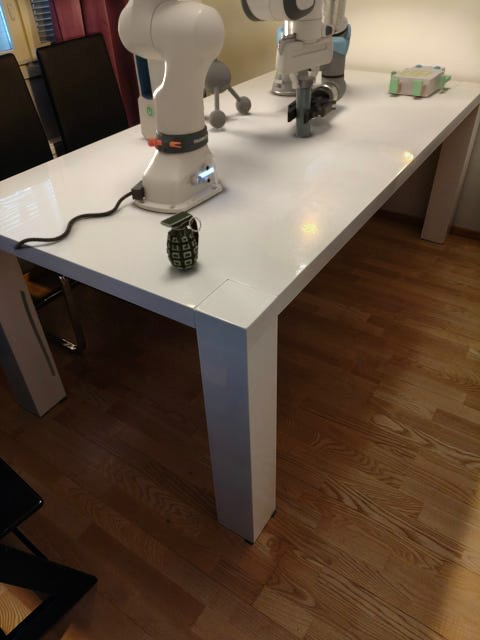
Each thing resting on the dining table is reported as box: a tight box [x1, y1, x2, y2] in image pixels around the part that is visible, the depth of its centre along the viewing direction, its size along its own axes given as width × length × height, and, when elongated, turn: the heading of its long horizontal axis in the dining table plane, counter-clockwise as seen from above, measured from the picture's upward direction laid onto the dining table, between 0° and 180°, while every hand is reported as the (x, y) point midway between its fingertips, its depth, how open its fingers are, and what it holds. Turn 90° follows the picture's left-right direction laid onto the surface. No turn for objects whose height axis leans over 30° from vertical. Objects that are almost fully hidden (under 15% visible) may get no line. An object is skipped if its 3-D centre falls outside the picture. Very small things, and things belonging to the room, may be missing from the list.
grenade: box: [159, 211, 202, 271], centre depth 88 cm, size 7×6×10 cm
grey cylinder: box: [295, 87, 312, 138], centre depth 144 cm, size 4×4×15 cm
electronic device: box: [132, 53, 165, 140], centre depth 143 cm, size 12×8×30 cm, turn 47°
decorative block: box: [388, 64, 452, 98], centre depth 182 cm, size 26×6×20 cm
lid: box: [297, 75, 314, 88], centre depth 140 cm, size 5×5×2 cm
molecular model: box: [203, 57, 252, 129], centre depth 157 cm, size 24×22×30 cm
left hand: (304, 86), depth 141 cm, fingers open, 5 cm apart
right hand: (296, 118), depth 141 cm, fingers closed on grey cylinder, 4 cm apart
